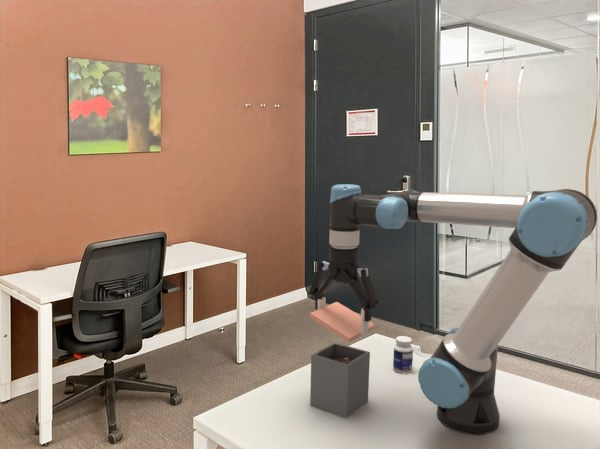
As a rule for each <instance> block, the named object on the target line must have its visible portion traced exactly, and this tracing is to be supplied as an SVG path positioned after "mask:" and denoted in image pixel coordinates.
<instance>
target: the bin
mask: <svg viewBox="0 0 600 449" xmlns="http://www.w3.org/2000/svg"><path fill="white" fill-rule="evenodd" d="M370 355H371V352H370V351H367V350H364V349H361V348H356V347H352V346H349V345H346V344H342V343H338V342H333V343H330V344H329V345H327V346H325V347H323V348H321V349H320V350H317V351H316V352H314V353H312V354H311V355H310V356H311V358H310V400H309V402H310V403H309V404H310V406H311V407H314V408H316V409H320V410H322V411H325V412H328V413H331V414H333V415H336V416H339V417H342V418H345V419H348V418H349V417H350V416H351V415H353V414H354V413H356V412H357V411H358V410H359V409H360V408H362V407H363V406H365V404H367V403H368V402H369V387H370V386H369V385H370V358H371V356H370ZM341 357H347V358H349V359H351V360H352V361H351V362H349V363H348V364H345V363H342V362H339V361H335V360H333V359H336V358H341Z"/></svg>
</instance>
